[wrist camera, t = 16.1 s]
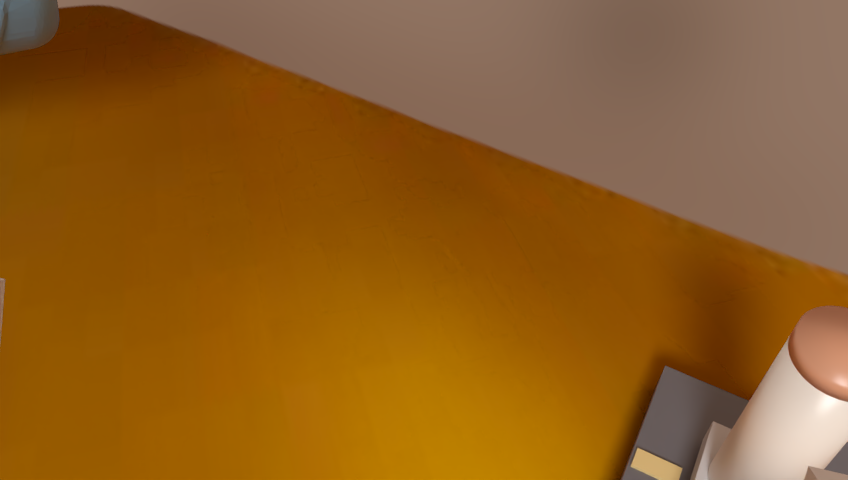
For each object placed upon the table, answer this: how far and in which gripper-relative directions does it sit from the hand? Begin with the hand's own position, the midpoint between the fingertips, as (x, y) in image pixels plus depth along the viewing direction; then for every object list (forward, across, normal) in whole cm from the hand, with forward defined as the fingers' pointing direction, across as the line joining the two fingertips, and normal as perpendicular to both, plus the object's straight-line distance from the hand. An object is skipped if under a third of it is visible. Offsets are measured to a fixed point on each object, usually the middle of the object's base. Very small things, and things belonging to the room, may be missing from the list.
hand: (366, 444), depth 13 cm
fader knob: (+24, +13, -11) cm, 30 cm away
